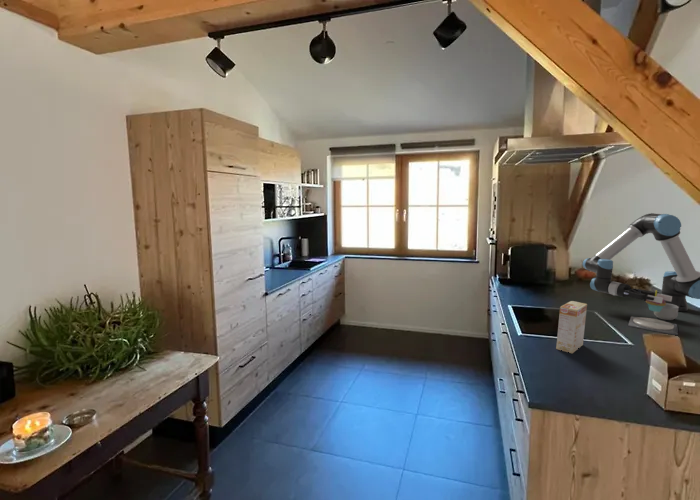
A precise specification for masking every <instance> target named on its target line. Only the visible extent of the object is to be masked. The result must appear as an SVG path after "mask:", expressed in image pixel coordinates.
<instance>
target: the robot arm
mask: <svg viewBox="0 0 700 500" xmlns="http://www.w3.org/2000/svg"><path fill="white" fill-rule="evenodd" d="M681 227H682V222H681V219H680V218H679V217H677V216H676V215H673V214H669V213H652V212H651V213H646V214H643V215H641V216H640V217H639V218H637V219H636V220H634V221H632V222H631V223H630V224H629V225H628V226H627V228H626V230H624V231H623V232H622V233H621V234H619V235H618V236H617V237H616V238H614V239H613V240H611V242H610V243H608V244H607V245H606V246H604V247H603V248H602V249H601V250H599V251H598V252H597V253H596V254H594V255H593V256H592V257H587V258H585V259H584V260H583V261H582V267H583V268H584V270H587V271H588V272H593V273H595V274H596V276H595V277H593V278H591V280H590V283H589V286H590V289H592V290H593V291H596V292H598V293H604V294H609V295H612V296H613V297H614V296H617V297H621V298H628V297H630V298H633V299H637V300H640V301H641V300H642V301H643V302H645V301H646V299H647V300H649V301H653V302H658V303H662V301H663V300H664V301H665V302H666V303H668V304H673V305H676V306H678V307H679V308H678V312H687V311H688V309H689V306H688V301H687V297H689V298H692V299H697V300H700V271H697V270H696V268H695V266H694V264H693V263H692V261H691V259H690V256H689V255H688V253H687V251H686V249H685V246H684V244H683V242H682V240H681V238H680V234H681ZM647 234H652V235H653V237H654V239H655V240H656V241H657V242H660V244H661V246H662V248H663V250H664V251H665V254H666V255H667V258H668V260H669V261H670V264H671V265H672V268H673V269H674V270H673V271H668V270H667V271H665V272H664V274H663V276H662V285H661V293H659V291H657V297H656V296H655V292H654V291H651V290H650V291H649V290H646V289H641V288H632V287H631V285H630V284H627V283H624V282H623V283H622V282H617V281H612V275H613V271H614V261H613V260H612V259H613V258H614V257H615V256H617V255H618V254H619V253H621V252H623V250H624V249H626V248H627V247H628V246H629V245H631V244H632V243H633V242H635V241H636V240H637V239H638V238H642V237H644V236H646V235H647Z"/></svg>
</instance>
